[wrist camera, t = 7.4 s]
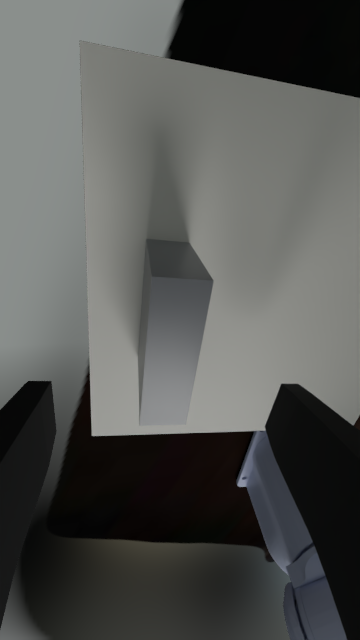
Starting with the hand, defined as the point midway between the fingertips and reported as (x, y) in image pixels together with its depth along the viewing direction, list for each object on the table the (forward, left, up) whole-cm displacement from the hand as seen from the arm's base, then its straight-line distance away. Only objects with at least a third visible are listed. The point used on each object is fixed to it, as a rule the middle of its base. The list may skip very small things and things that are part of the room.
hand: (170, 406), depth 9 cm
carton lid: (+2, -4, -4) cm, 6 cm away
